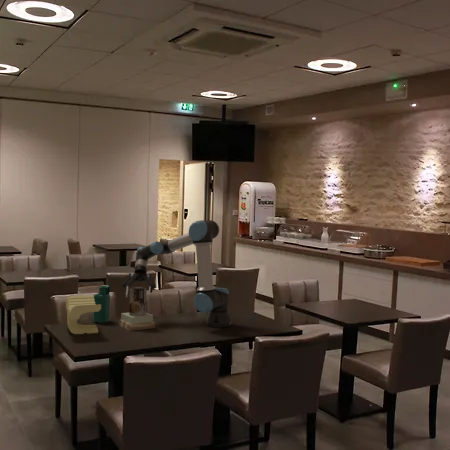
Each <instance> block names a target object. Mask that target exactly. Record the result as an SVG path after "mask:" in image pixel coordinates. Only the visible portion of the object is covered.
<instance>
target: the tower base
mask: <svg viewBox="0 0 450 450" xmlns="http://www.w3.org/2000/svg"><path fill="white" fill-rule="evenodd" d="M118 321H119V322H118V324H119V325H118V326H120V327H122V328H123V329H125V330H128V331H129V332H130V331H131V332H132V331H139V330H140V331H141V330H147V329H155V328H156V322H155V321H153V322H148V323H140V324H132V325H131V324H129V323H127V322H125V321H122V320H121V319H118Z"/></svg>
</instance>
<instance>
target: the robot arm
mask: <svg viewBox="0 0 450 450" xmlns="http://www.w3.org/2000/svg"><path fill="white" fill-rule="evenodd" d="M219 233H220V227H219V224H218V223H217V222H216V221H215V220H214V221H213V220H210V219H209V220H202V219H201V220H196V221H194V222H192V223H191V225H190V226H189V228H188V232H187V233H184V234H182V235H180V236H178V237H175V238H173V239H170V240H168V241H165V242H160V241H159V240H157V241H154V242H152V243H151V244H149V245H147V246H139V247H138V248H137V250H136V254H135V255H136V256H135V265H134V272H133V273H131V272H130V273H128V276H127V277H126V278H125V279H124V281H123V283H122V284H121V285H122V288H124V293H125V298H128V296H129V287H130V286H131V285H132V284H134V283H135V282H144V283H146V285H147V286H148V287H149V288H148V298H149V299H150V298H151V294H152V293H153V289H156V288H157V287H156V285H157V284H156V282H155V281H154V279H153V277H152V273H149V274H147V273H148V263H149V260H150V259H152V258H153V257H155V256H161V255H162V256H163V255H170V254H173V253H174V252H176V251H177V250H181V249H183V248H186V247H188V246H192V245H193V246H195V252H196V253H195V255H196V264H197V265H196V266H197V268H196V269H197V278H198V281H197V282H198V287H197V288H196V295H195V296H194V297H193V305H194V307H195V309H196V310H197V311H199V312H200V313H208V315H207V318H206V321H205V323H206V324H205V325H206V326H207V327H210V328H211V327H212V328H228V327H230V326H231V325H232V320H231V318H230V314H229V302H230V301H229V300H230V298H229V296H230V294H229V293H230V292H229V288H226V287H215V285H214V279H213V277H214V276H213V267H212V251H211V250H212V249H211V245H212V244H213V240H214V239H216V238H217V237H218V236H219ZM148 279H149V280H148Z"/></svg>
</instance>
